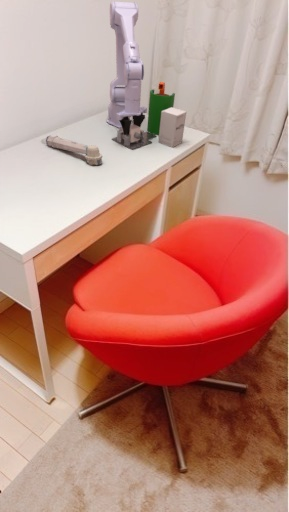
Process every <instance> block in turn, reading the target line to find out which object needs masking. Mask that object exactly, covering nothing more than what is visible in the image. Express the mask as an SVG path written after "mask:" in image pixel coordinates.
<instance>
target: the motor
mask: <svg viewBox="0 0 289 512" xmlns="http://www.w3.org/2000/svg"><path fill="white" fill-rule="evenodd" d="M165 89H166V83H165V82H161V81H160V82H159V83H158V90H159V92H158V93H155V89H151V90H150V91H149V100H148V111H147V124H146V125H147V127H146V130H147V132H149V133H151V134H153V135H156V136H159V130H160V121H161V111H163V110H166V109H168V108H171V107H173V108H174V104H175V98H176V97H175V96H176V93H175V92H173V93H172V94H166V93H165Z"/></svg>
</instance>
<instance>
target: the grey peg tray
mask: <svg viewBox="0 0 289 512" xmlns="http://www.w3.org/2000/svg"><path fill="white" fill-rule="evenodd" d="M122 130H123V128H122V127H120V128H119V130H117V134H116V137H113V138H111V141H113V142H115V143H117V144H118V145H121V146H123V147H125V148H127V149H129V150H132V151H134V150H137V149H139V148H142V147H145V146H148V145H151V144H152V143H153V141H151V140H153V139H156V138H157V137H158V135H156V134H152V133H150V132H148V131H145V130H144V129H141V131H140V134H141V137H140V140H138V141H135V142H132V143H130V135H128V134H125V135H124V139H123V132H122Z"/></svg>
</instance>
